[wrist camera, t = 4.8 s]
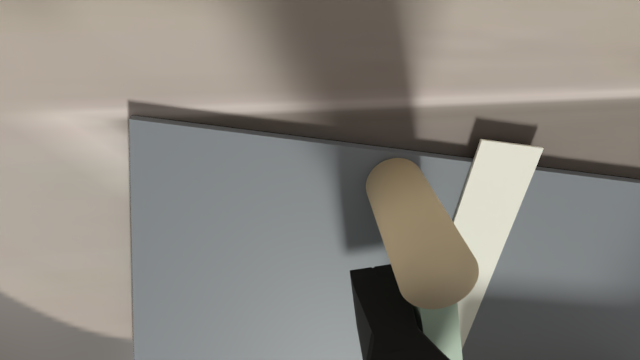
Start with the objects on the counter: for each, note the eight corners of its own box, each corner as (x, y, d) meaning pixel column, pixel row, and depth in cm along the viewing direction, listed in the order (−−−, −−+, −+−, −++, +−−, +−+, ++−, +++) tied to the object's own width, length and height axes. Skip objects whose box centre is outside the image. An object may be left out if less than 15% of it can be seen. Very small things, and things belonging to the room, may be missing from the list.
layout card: (809, 179, 14) (823, 185, 14) (613, 457, 20) (619, 467, 20) (132, 88, 11) (127, 92, 11) (138, 441, 17) (134, 452, 17)
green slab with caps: (444, 355, 16) (491, 475, 12) (398, 365, 16) (432, 486, 12) (420, 152, 12) (477, 235, 9) (361, 164, 12) (393, 254, 9)
